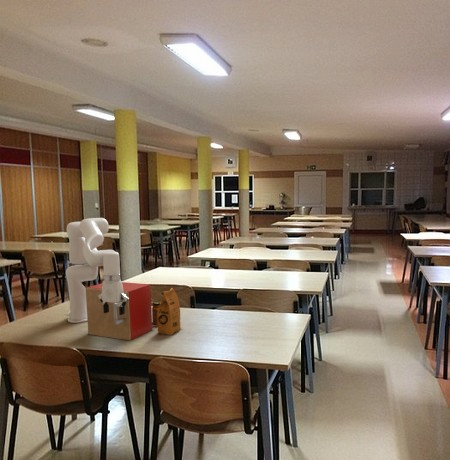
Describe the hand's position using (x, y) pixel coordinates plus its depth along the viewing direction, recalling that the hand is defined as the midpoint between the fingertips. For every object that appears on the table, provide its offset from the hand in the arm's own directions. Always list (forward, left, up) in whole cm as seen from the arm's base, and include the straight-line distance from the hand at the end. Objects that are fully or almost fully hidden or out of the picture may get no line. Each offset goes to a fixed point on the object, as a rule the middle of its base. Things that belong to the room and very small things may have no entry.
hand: (114, 313), depth 232 cm
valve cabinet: (-10, +17, -15) cm, 25 cm away
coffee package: (+13, +27, -15) cm, 34 cm away
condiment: (-1, +36, -15) cm, 39 cm away
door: (-10, +4, -15) cm, 19 cm away
